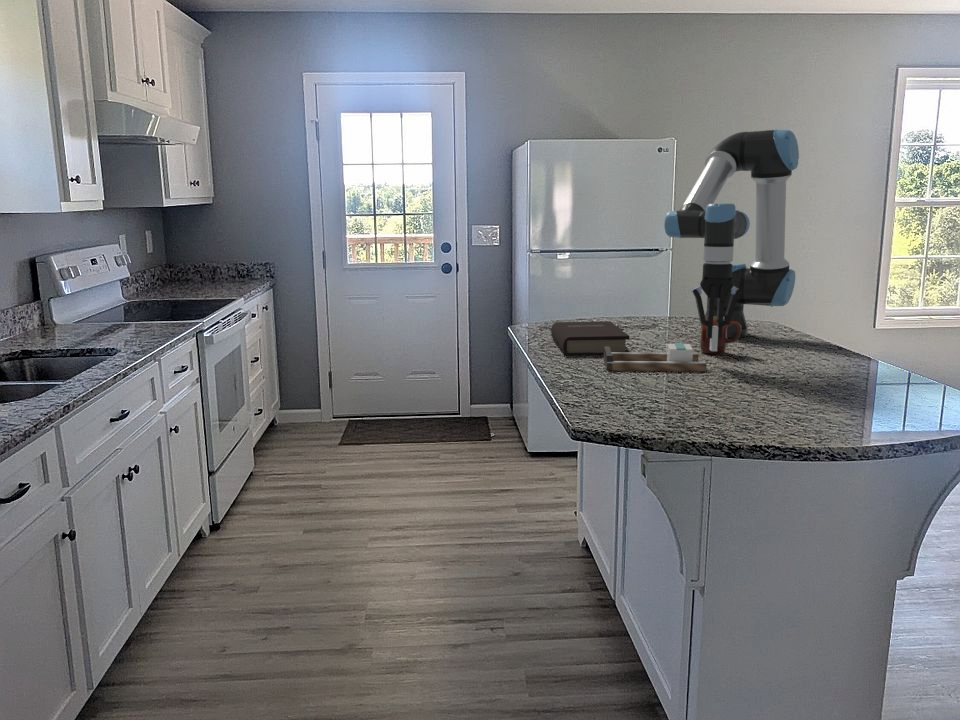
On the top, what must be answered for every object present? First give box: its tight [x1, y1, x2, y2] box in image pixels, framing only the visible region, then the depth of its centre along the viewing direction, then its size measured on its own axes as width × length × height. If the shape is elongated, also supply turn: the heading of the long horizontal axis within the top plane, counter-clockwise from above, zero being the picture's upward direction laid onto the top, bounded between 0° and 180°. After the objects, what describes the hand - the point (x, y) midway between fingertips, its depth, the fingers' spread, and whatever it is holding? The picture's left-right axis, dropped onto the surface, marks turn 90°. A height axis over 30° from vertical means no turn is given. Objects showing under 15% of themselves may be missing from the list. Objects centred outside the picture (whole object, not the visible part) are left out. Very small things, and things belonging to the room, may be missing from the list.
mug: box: [698, 316, 741, 356], centre depth 230 cm, size 12×9×10 cm
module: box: [666, 342, 694, 362], centre depth 214 cm, size 6×8×6 cm
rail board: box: [603, 346, 708, 372], centre depth 215 cm, size 26×13×4 cm, turn 85°
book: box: [550, 320, 630, 357], centre depth 244 cm, size 28×20×6 cm
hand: (713, 350), depth 213 cm, fingers closed
